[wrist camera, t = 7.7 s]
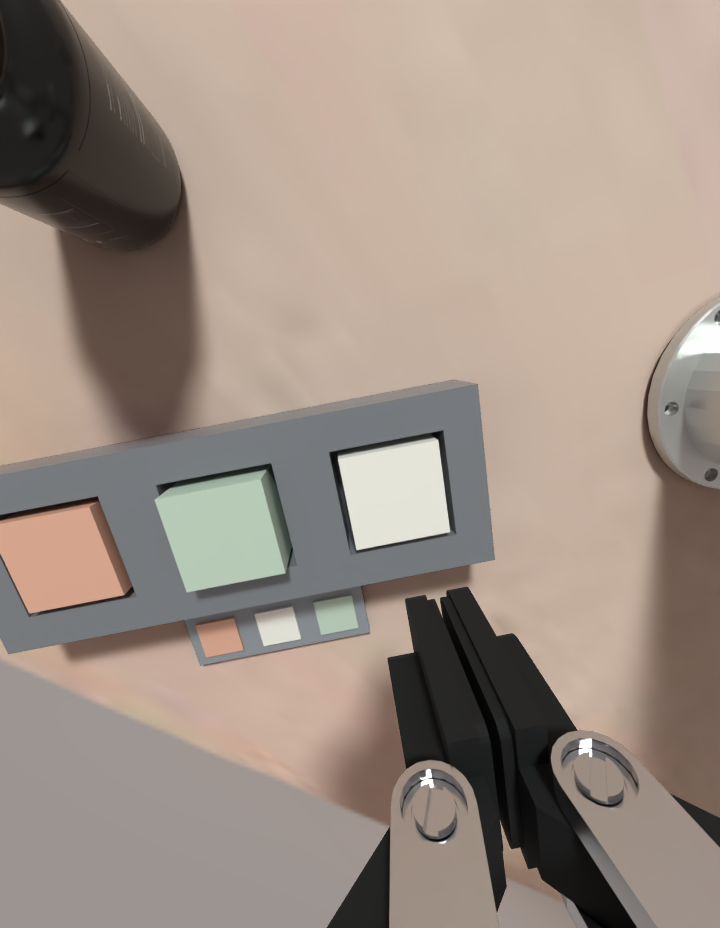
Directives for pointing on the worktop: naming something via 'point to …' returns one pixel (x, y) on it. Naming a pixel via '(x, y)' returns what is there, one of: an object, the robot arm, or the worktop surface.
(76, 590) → the terracotta key
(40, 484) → the keypad
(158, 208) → the supplement bottle
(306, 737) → the worktop surface
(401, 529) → the cream key
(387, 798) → the worktop surface
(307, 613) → the card
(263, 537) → the sage key
